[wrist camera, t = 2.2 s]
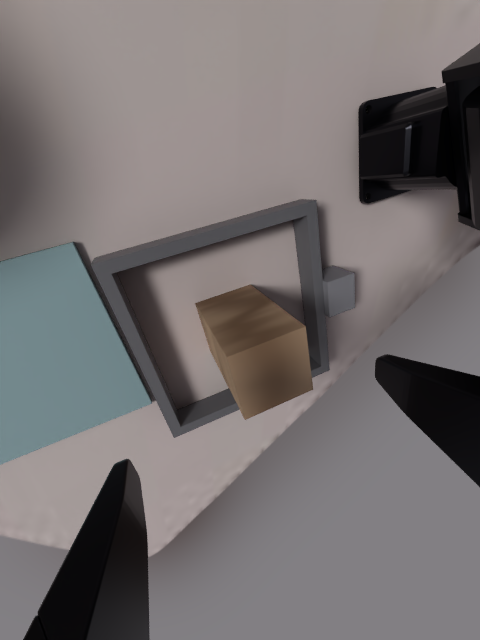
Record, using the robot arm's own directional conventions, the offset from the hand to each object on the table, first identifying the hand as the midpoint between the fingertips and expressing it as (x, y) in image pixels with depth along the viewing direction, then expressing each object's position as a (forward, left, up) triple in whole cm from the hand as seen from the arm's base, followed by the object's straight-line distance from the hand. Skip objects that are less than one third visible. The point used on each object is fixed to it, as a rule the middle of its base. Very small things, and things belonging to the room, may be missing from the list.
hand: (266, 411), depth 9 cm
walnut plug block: (-2, +3, -13) cm, 13 cm away
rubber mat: (+12, +1, -13) cm, 18 cm away
